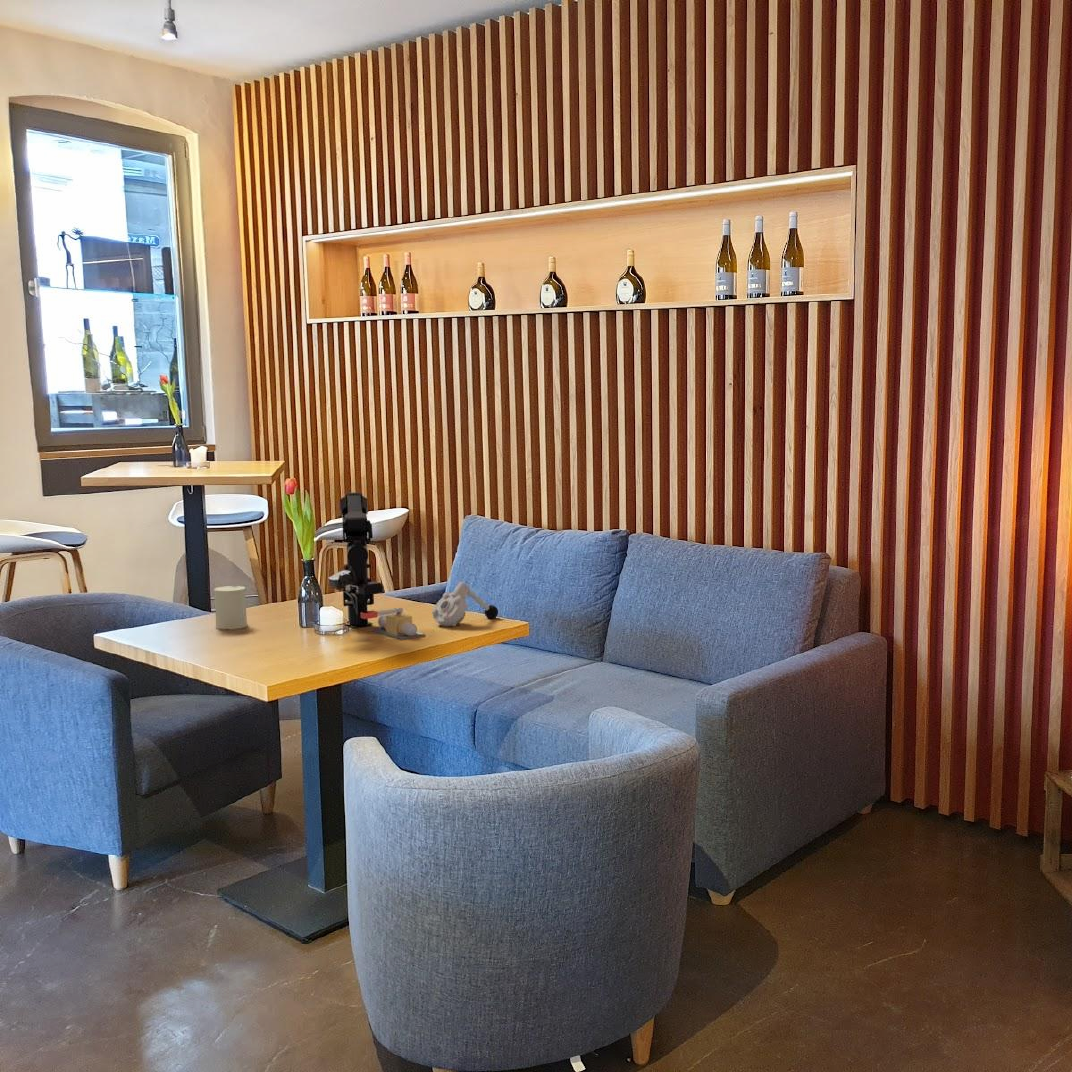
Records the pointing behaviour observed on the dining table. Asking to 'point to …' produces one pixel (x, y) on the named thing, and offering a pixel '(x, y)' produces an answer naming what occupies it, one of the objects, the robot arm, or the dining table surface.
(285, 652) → the dining table surface
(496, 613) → the mechanical valve
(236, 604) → the can
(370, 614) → the valve lever
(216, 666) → the dining table surface
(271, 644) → the dining table surface
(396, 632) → the pipe valve
